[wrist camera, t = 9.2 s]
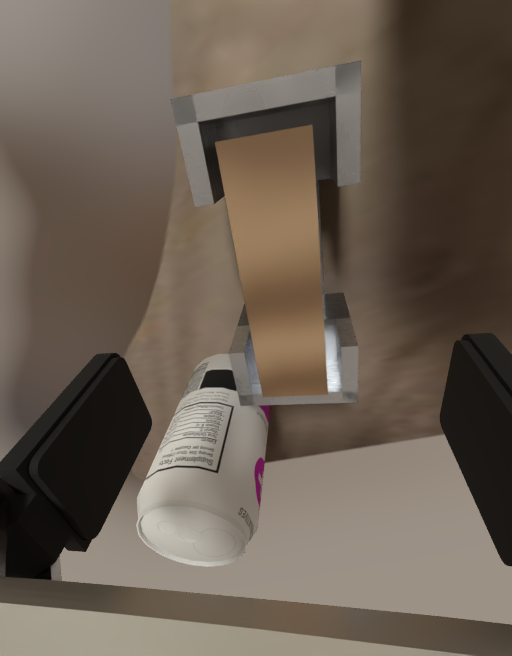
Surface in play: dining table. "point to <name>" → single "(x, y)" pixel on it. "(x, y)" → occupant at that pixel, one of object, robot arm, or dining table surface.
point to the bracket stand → (330, 162)
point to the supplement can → (206, 473)
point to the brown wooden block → (278, 255)
